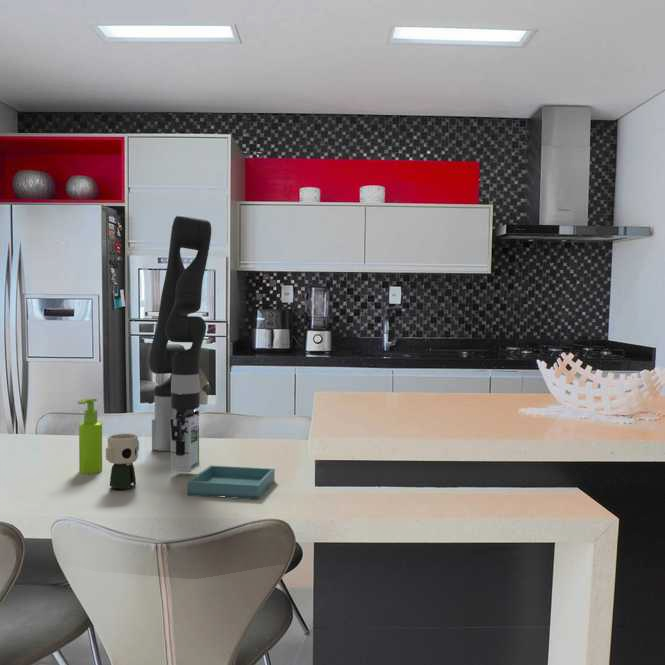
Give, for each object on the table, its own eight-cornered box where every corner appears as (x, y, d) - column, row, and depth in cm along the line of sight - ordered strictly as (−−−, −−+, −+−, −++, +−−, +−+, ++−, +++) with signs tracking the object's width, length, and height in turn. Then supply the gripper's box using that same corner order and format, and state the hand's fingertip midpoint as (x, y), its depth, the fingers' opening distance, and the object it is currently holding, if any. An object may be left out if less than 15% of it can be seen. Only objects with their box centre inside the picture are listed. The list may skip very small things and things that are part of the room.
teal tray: (187, 495, 151) (187, 481, 151) (210, 477, 166) (210, 465, 166) (258, 499, 148) (258, 485, 148) (274, 481, 164) (274, 468, 164)
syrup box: (190, 472, 165) (191, 418, 165) (169, 470, 167) (170, 416, 166) (199, 466, 171) (199, 414, 170) (179, 465, 172) (179, 413, 171)
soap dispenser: (71, 473, 169) (71, 400, 168) (89, 467, 175) (89, 396, 174) (89, 475, 167) (89, 401, 166) (106, 469, 173) (106, 397, 172)
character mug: (117, 495, 150) (117, 441, 150) (95, 491, 153) (95, 438, 153) (149, 483, 160) (149, 433, 159) (127, 480, 163) (127, 430, 162)
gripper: (182, 386, 175) (182, 445, 176) (160, 393, 161) (160, 458, 162) (208, 387, 174) (207, 447, 175) (188, 395, 160) (187, 459, 161)
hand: (185, 452), depth 169 cm, fingers closed on syrup box, 5 cm apart
